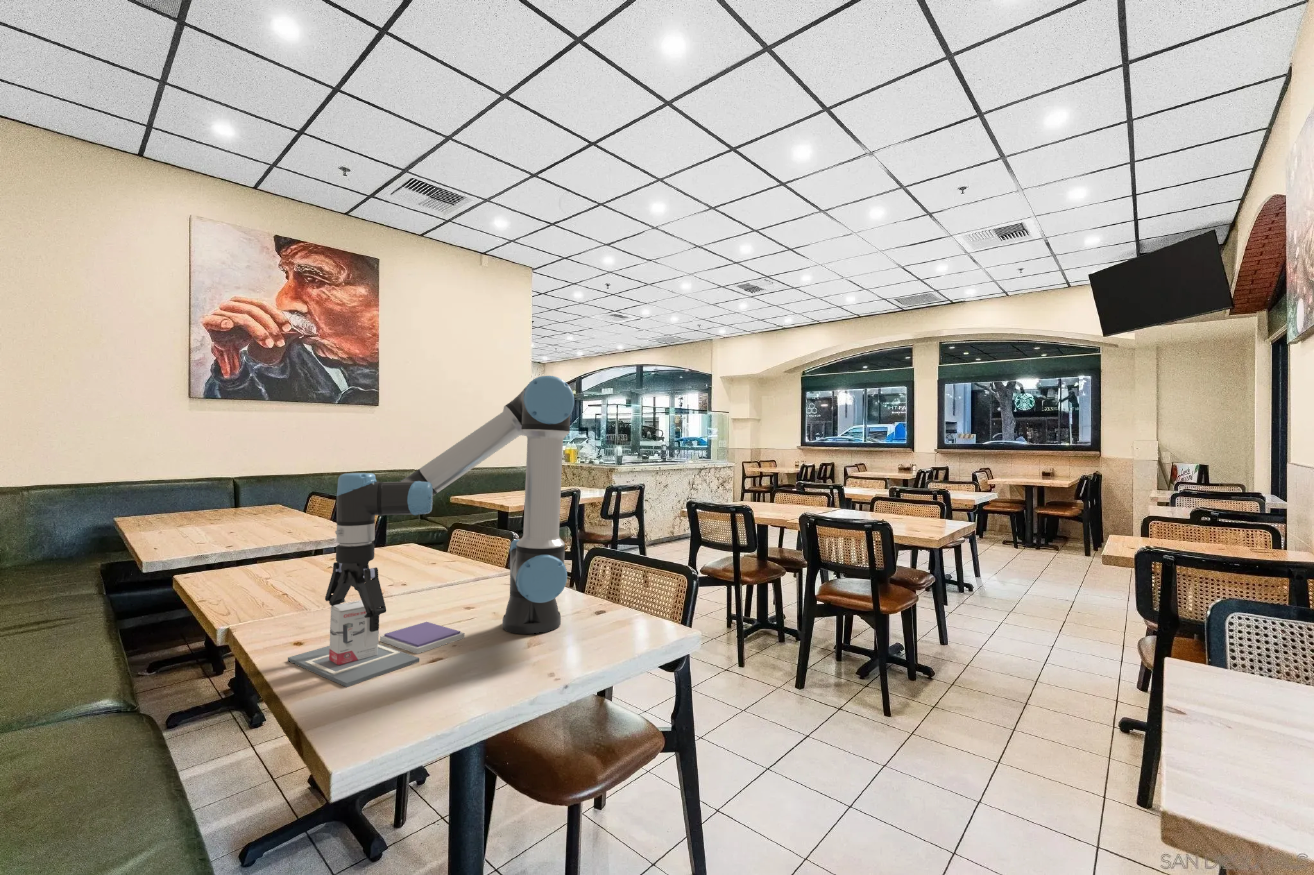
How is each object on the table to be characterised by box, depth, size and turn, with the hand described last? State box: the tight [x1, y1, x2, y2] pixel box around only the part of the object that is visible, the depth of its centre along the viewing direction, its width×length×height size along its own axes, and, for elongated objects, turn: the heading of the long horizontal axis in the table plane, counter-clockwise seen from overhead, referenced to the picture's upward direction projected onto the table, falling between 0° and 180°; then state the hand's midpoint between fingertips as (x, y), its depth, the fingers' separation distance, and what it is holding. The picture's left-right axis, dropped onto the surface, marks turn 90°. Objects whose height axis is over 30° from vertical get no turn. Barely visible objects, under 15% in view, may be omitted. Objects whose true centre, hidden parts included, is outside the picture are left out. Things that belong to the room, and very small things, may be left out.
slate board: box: [287, 643, 420, 688], centre depth 125 cm, size 24×16×1 cm, turn 57°
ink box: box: [329, 599, 378, 665], centre depth 125 cm, size 9×5×12 cm, turn 140°
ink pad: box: [379, 621, 466, 655], centre depth 139 cm, size 15×13×2 cm
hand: (354, 639), depth 125 cm, fingers open, 13 cm apart
